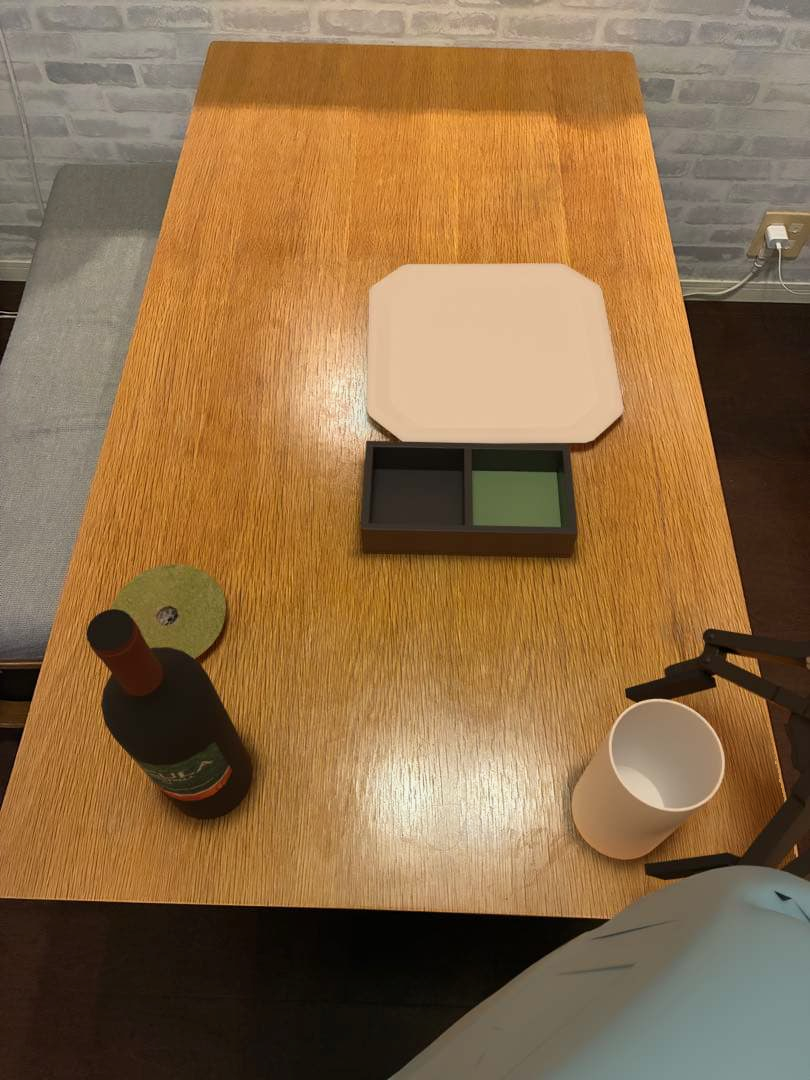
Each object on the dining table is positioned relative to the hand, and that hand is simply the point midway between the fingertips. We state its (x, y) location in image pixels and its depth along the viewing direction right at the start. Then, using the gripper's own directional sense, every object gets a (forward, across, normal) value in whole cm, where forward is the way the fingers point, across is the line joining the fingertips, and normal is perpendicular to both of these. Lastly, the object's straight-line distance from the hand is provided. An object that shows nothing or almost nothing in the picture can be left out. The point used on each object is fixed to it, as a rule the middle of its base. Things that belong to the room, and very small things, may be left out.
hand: (643, 780), depth 66 cm
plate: (+14, +53, +1) cm, 55 cm away
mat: (+36, +17, +23) cm, 46 cm away
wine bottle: (+32, +2, +19) cm, 37 cm away
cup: (+7, 0, -6) cm, 9 cm away
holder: (+16, +31, +3) cm, 35 cm away
